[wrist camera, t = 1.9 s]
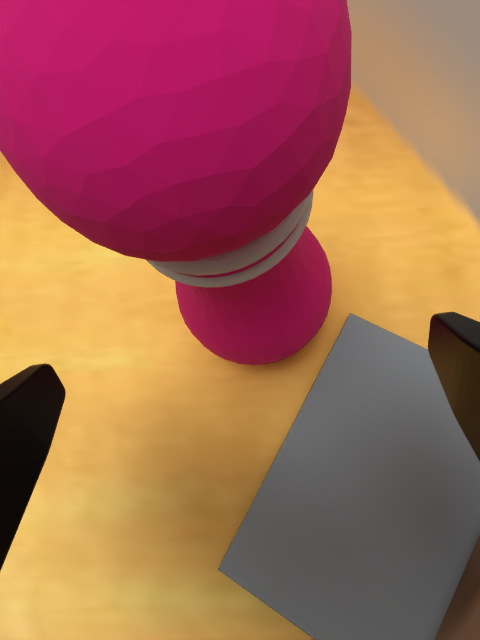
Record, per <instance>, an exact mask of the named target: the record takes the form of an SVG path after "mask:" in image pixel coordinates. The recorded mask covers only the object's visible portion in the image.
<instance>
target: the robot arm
mask: <svg viewBox="0 0 480 640" xmlns="http://www.w3.org/2000/svg"><path fill="white" fill-rule="evenodd" d="M428 351H429V355H430V358H431V360H432V363H433V365H434V368H435V370H436V373H437V375H438V378H439V380H440V383H441V385H442V388H443V390H444V392H445V395H446V397H447V400H448V402H449V405H450V407H451V409H452V412H453V414H454V416H455V418H456V420H457V422H458V424H459V426H460V427H461V429H462V431H463V433H464V435H465V436H466V438H467V440H468V442H469V444H470V445H471V447H472V449H473V451H474V453H475V454H476V456H477V458H478V460H479V462H480V322H478V321H475V320H473V319H470V318H468V317H465V316H463V315H460V314H458V313H455V312H446V313H438V314H434V315H433V316H432V318H431V321H430V330H429V340H428ZM64 400H65V388H64V386H63V384H62V383H61V381H60V379H59V377H58V376H57V374H56V372H55V370H54V369H53V367H52V366H51V365H49V364H38V365H32V366H30V367H28V368H26V369H25V370H23V371H21V372H20V373H18V374H16V375H15V376H13V377H11V378H10V379H8V380H6V381H5V382H3V383H1V384H0V571H1V568H2V566H3V563H4V561H5V559H6V556H7V554H8V551H9V549H10V546H11V544H12V541H13V539H14V537H15V534H16V532H17V529H18V527H19V524H20V522H21V519H22V517H23V514H24V512H25V510H26V507H27V505H28V502H29V500H30V497H31V495H32V492H33V490H34V488H35V485H36V483H37V480H38V478H39V475H40V473H41V470H42V468H43V466H44V463H45V461H46V458H47V455H48V453H49V450H50V447H51V443H52V440H53V437H54V433H55V430H56V427H57V423H58V420H59V417H60V413H61V410H62V406H63V403H64Z"/></svg>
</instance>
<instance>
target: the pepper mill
mask: <svg viewBox="0 0 480 640" xmlns="http://www.w3.org/2000/svg"><path fill="white" fill-rule="evenodd" d="M350 89H351V27H350V20H349V13H348V7H347V1H346V0H0V151H1V152H2V154H3V155H4V156H5V158H6V159H7V161H8V162H9V164H10V165H11V166H12V168H13V169H14V171H15V172H16V173H17V175H18V176H19V177H20V178H21V179H22V181H23V182H24V183H25V184H26V186H27V187H28V188H29V189H30V190H31V192H32V193H33V194H34V195H35V197H36V198H37V199H38V200H39V201H40V202H41V203H42V204H43V205H45V206H46V207H47V208H48V209H49V210H50V211H51V212H52V213H53V214H54V215H55V216H57V217H58V218H59V219H60V220H61V221H62V222H64V223H65V224H67V225H68V226H70V227H71V228H73V229H74V230H76V231H77V232H79V233H80V234H82V235H83V236H85V237H86V238H88V239H89V240H91V241H92V242H94V243H96V244H99V245H101V246H103V247H106V248H108V249H111V250H113V251H116V252H118V253H120V254H123V255H125V256H130V257H136V258H141V259H146V260H147V261H148V262H149V263H150V264H151V265H152V266H153V267H154V268H155V269H156V270H158V271H159V272H161V273H162V274H164V275H165V276H167V277H169V278H171V279H173V280H175V283H176V294H177V299H178V304H179V309H180V312H181V314H182V317H183V319H184V321H185V324H186V325H187V327H188V328H189V330H190V331H191V333H192V334H193V335H194V336H195V337H196V338H197V339H198V340H199V341H200V342H201V343H202V344H203V345H204V346H205V347H206V348H207V349H209V350H210V351H211V352H213V353H214V354H216V355H218V356H220V357H222V358H224V359H226V360H229V361H232V362H236V363H239V364H249V365H258V364H268V363H272V362H276V361H279V360H282V359H284V358H287V357H289V356H291V355H293V354H294V353H296V352H297V351H299V350H300V349H301V348H303V347H304V346H305V345H307V344H308V342H309V341H310V340H311V339H312V338H313V337H314V336H315V335H316V333H317V332H318V331H319V329H320V328H321V326H322V324H323V322H324V320H325V318H326V316H327V313H328V310H329V306H330V302H331V294H332V279H331V272H330V266H329V263H328V260H327V257H326V254H325V252H324V250H323V248H322V247H321V245H320V243H319V242H318V240H317V239H316V237H315V236H314V235H313V233H312V232H311V231H310V230H309V229H308V227H307V226H306V224H307V222H308V219H309V216H310V212H311V208H312V200H313V189H314V187H315V185H316V184H317V182H318V181H319V179H320V177H321V176H322V174H323V172H324V171H325V169H326V167H327V166H328V164H329V162H330V161H331V159H332V157H333V154H334V151H335V148H336V145H337V142H338V139H339V136H340V133H341V130H342V126H343V122H344V118H345V115H346V110H347V105H348V100H349V94H350Z"/></svg>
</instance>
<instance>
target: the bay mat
mask: <svg viewBox="0 0 480 640" xmlns="http://www.w3.org/2000/svg"><path fill="white" fill-rule="evenodd" d="M479 535H480V462H479V460H478V458H477V456H476V454H475V453H474V451H473V449H472V447H471V445H470V444H469V442H468V440H467V438H466V436H465V435H464V433H463V431H462V429H461V427H460V426H459V424H458V422H457V420H456V418H455V416H454V414H453V412H452V409H451V407H450V405H449V402H448V400H447V397H446V395H445V392H444V390H443V388H442V385H441V383H440V380H439V378H438V375H437V373H436V370H435V368H434V365H433V363H432V360H431V358H430V355H429V351H428V350H427V349H425V348H423V347H421V346H419V345H417V344H415V343H413V342H410V341H408V340H406V339H404V338H402V337H400V336H398V335H396V334H394V333H391V332H389V331H387V330H385V329H383V328H381V327H379V326H377V325H374V324H372V323H370V322H368V321H366V320H364V319H362V318H360V317H358V316H355V315H353V314H351V313H350V315H349V317H348V319H347V321H346V323H345V324H344V326H343V328H342V330H341V332H340V334H339V336H338V338H337V340H336V342H335V344H334V346H333V348H332V350H331V352H330V354H329V355H328V357H327V359H326V361H325V363H324V365H323V367H322V369H321V371H320V373H319V375H318V377H317V379H316V381H315V383H314V385H313V386H312V388H311V390H310V392H309V394H308V396H307V398H306V400H305V402H304V404H303V406H302V408H301V410H300V412H299V414H298V416H297V417H296V419H295V421H294V423H293V425H292V427H291V429H290V431H289V433H288V435H287V437H286V439H285V441H284V443H283V445H282V446H281V448H280V450H279V452H278V454H277V456H276V458H275V460H274V462H273V464H272V466H271V468H270V470H269V472H268V474H267V476H266V477H265V479H264V481H263V483H262V485H261V487H260V489H259V491H258V493H257V495H256V497H255V499H254V501H253V503H252V505H251V507H250V508H249V510H248V512H247V514H246V516H245V518H244V520H243V522H242V524H241V526H240V528H239V530H238V532H237V534H236V536H235V538H234V539H233V541H232V543H231V545H230V547H229V549H228V551H227V553H226V555H225V557H224V559H223V561H222V563H221V565H220V567H219V569H218V570H219V571H221V572H222V573H224V574H225V575H226V576H228V577H229V578H230V579H232V580H233V581H235V582H236V583H237V584H239V585H240V586H242V587H243V588H244V589H246V590H247V591H248V592H250V593H251V594H253V595H254V596H255V597H257V598H258V599H260V600H261V601H262V602H264V603H265V604H266V605H268V606H269V607H271V608H272V609H273V610H275V611H276V612H278V613H279V614H280V615H282V616H283V617H285V618H286V619H287V620H289V621H290V622H291V623H293V624H294V625H296V626H297V627H298V628H300V629H301V630H303V631H304V632H305V633H307V634H308V635H309V636H311V637H312V638H314V639H315V640H434V639H435V637H436V634H437V632H438V630H439V628H440V625H441V623H442V621H443V618H444V616H445V614H446V611H447V609H448V607H449V604H450V602H451V600H452V598H453V595H454V593H455V591H456V588H457V586H458V584H459V581H460V579H461V577H462V574H463V572H464V570H465V568H466V565H467V563H468V561H469V558H470V556H471V554H472V551H473V549H474V547H475V544H476V542H477V540H478V537H479Z"/></svg>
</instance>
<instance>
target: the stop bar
mask: <svg viewBox="0 0 480 640" xmlns="http://www.w3.org/2000/svg"><path fill="white" fill-rule="evenodd" d="M434 640H480V535H479V537H478V540H477V542H476V544H475V547H474V549H473V551H472V554H471V556H470V558H469V561H468V563H467V565H466V568H465V570H464V572H463V574H462V577H461V579H460V581H459V584H458V586H457V588H456V591H455V593H454V595H453V598H452V600H451V602H450V604H449V607H448V609H447V611H446V614H445V616H444V618H443V621H442V623H441V625H440V628H439V630H438V632H437V634H436V637H435V639H434Z"/></svg>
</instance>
